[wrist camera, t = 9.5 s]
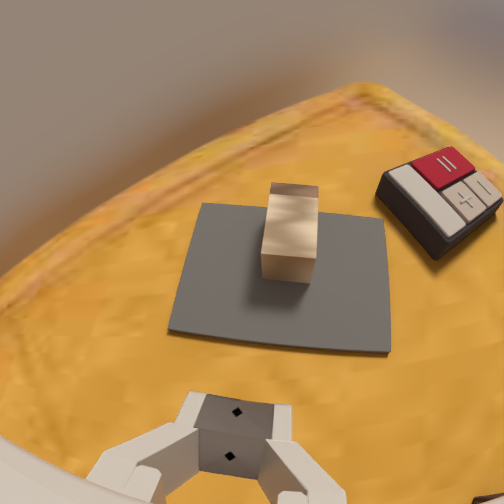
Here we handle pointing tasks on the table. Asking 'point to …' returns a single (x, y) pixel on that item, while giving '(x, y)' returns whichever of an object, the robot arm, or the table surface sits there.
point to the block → (290, 233)
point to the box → (486, 498)
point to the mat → (285, 285)
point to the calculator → (439, 199)
